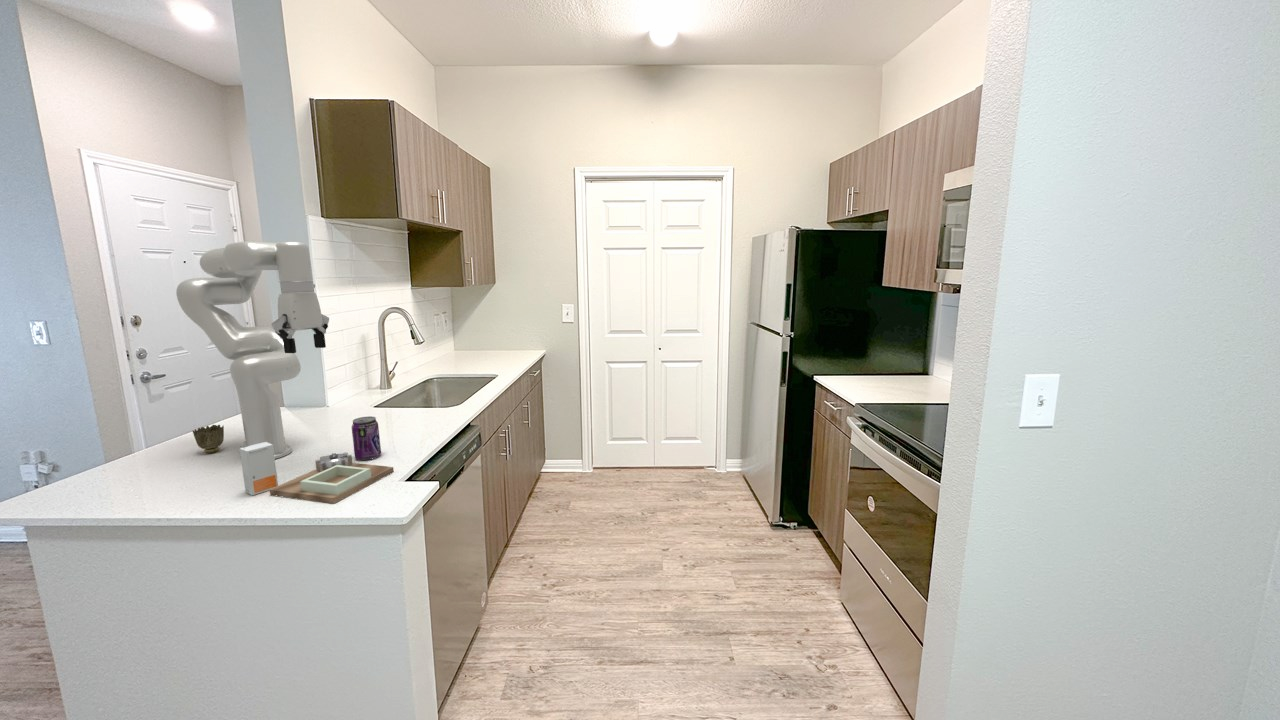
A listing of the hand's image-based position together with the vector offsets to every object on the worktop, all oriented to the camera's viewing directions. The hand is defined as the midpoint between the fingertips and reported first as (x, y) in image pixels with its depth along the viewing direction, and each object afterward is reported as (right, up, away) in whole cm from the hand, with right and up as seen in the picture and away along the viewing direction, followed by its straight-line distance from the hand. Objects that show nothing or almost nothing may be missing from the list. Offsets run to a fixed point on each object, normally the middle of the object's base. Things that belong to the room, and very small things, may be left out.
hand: (306, 350), depth 139 cm
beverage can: (+10, -33, +13) cm, 37 cm away
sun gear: (+8, -33, +1) cm, 34 cm away
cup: (-42, -32, +19) cm, 56 cm away
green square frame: (+15, -35, -10) cm, 39 cm away
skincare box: (-5, -37, -9) cm, 38 cm away
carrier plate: (+12, -36, -6) cm, 38 cm away
